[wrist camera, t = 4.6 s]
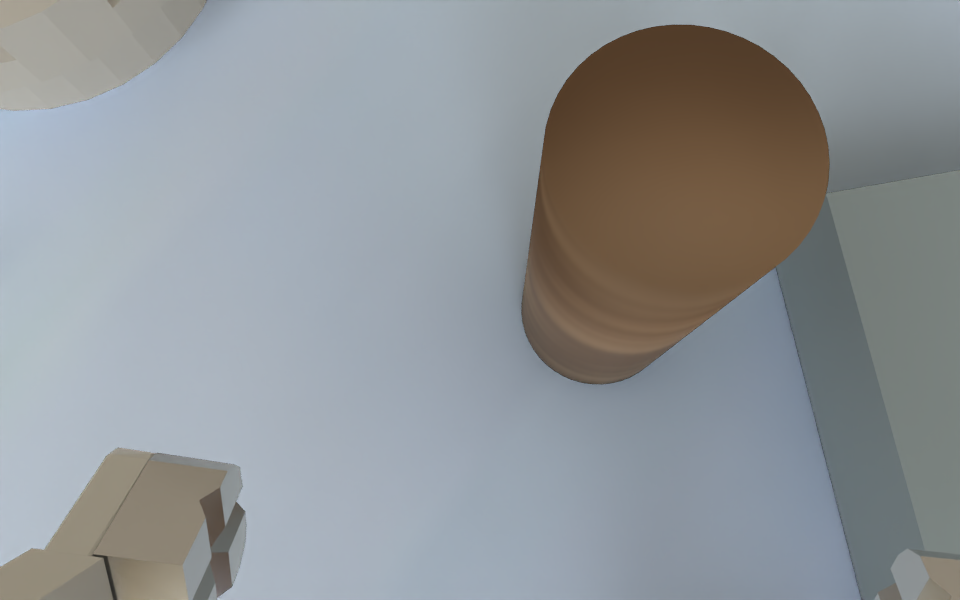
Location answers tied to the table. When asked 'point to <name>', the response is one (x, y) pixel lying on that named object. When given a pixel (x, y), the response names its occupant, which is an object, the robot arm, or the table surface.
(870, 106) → the table surface
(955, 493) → the bored board
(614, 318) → the long pin
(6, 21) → the flag stand
